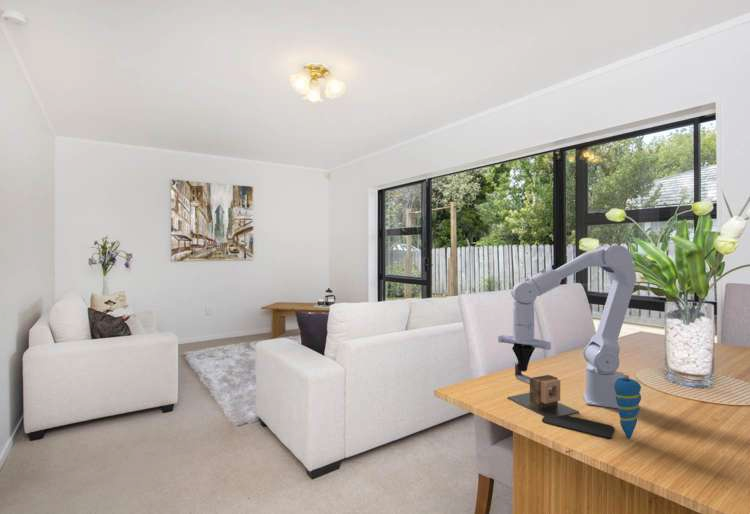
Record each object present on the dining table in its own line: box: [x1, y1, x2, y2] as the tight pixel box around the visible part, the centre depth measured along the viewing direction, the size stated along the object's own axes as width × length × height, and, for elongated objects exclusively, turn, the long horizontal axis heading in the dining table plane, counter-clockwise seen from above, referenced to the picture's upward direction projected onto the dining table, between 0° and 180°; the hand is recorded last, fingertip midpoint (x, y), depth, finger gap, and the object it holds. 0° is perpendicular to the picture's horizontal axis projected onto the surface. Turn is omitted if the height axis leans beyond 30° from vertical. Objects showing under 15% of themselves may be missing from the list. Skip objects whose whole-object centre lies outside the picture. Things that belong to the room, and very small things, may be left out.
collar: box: [541, 379, 561, 404], centre depth 104 cm, size 2×5×5 cm, turn 114°
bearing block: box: [529, 374, 559, 409], centre depth 106 cm, size 3×7×7 cm, turn 113°
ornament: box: [614, 373, 642, 440], centre depth 88 cm, size 5×5×15 cm
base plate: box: [507, 392, 580, 418], centre depth 107 cm, size 16×10×1 cm, turn 24°
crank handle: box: [514, 362, 554, 393], centre depth 110 cm, size 13×2×5 cm, turn 23°
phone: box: [541, 415, 615, 440], centre depth 95 cm, size 7×1×15 cm
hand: (523, 370), depth 113 cm, fingers closed
